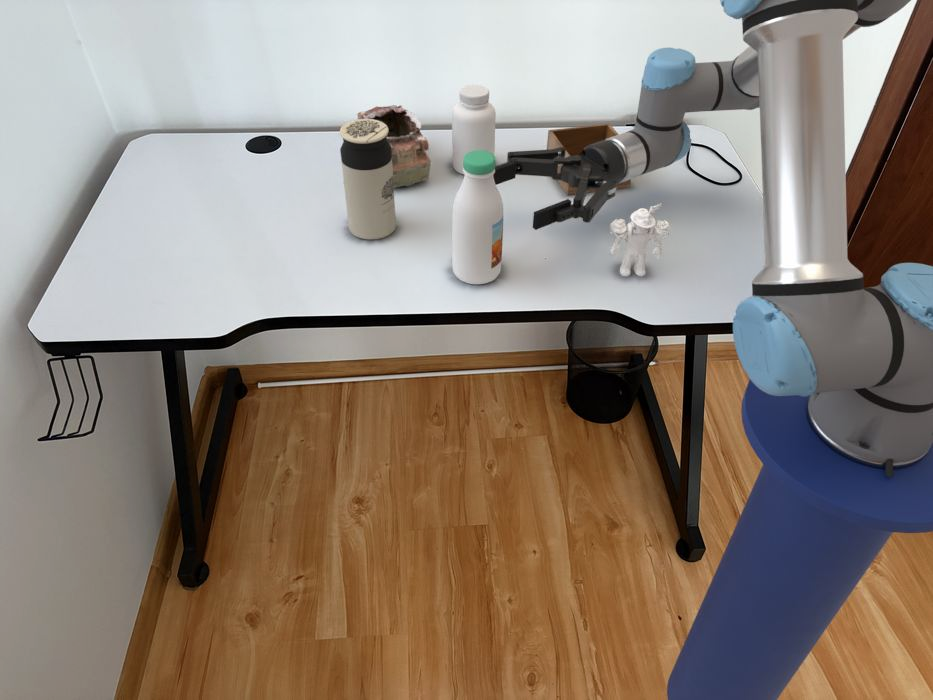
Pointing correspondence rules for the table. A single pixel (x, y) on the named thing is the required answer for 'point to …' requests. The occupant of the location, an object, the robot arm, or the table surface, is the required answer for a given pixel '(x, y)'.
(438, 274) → the table surface
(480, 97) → the pill bottle
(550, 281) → the table surface
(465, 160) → the milk bottle
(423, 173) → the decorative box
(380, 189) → the travel mug
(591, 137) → the wooden box
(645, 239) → the flower shoulder figurine
